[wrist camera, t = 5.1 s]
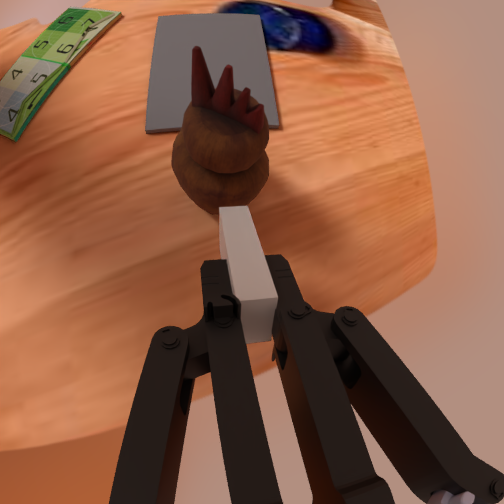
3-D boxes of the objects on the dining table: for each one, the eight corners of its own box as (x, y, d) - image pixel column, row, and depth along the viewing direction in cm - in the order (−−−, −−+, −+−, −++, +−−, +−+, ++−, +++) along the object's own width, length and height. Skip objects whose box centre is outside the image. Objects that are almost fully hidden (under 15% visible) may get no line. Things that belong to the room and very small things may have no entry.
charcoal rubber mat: (277, 128, 26) (279, 125, 26) (146, 133, 24) (145, 130, 24) (258, 18, 28) (259, 15, 27) (158, 19, 26) (158, 16, 25)
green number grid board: (123, 18, 26) (72, 12, 25) (121, 10, 25) (69, 5, 24) (19, 144, 22) (-22, 124, 22) (12, 138, 21) (-28, 119, 20)
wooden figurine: (164, 178, 24) (129, 54, 9) (215, 138, 25) (235, 3, 10) (217, 237, 24) (240, 160, 9) (268, 193, 25) (344, 87, 11)
